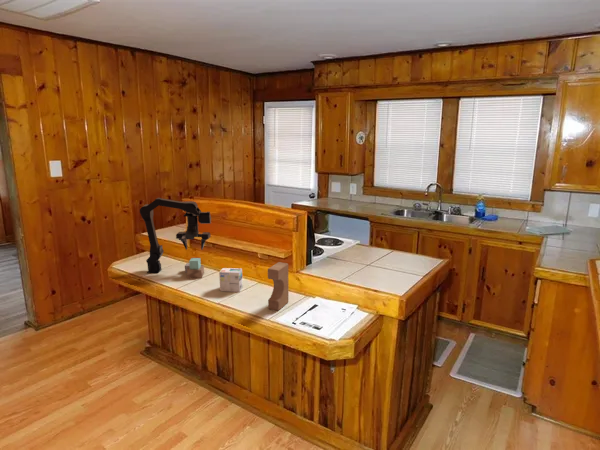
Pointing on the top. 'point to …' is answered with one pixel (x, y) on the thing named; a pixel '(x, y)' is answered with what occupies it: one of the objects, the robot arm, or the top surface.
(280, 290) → the decorative block
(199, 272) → the walnut block
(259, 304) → the top surface
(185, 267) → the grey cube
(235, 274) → the light bulb box
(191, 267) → the teal cube
